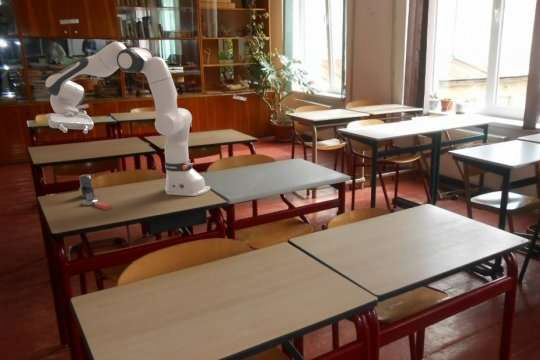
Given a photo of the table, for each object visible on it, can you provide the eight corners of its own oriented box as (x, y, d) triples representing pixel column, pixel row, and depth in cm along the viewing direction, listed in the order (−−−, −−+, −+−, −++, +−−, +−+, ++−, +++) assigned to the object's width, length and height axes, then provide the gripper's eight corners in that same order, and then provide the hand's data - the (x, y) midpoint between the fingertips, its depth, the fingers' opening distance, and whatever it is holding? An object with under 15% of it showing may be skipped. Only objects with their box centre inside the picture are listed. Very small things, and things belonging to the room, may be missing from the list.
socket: (81, 195, 226) (78, 175, 223) (93, 193, 228) (90, 173, 225) (82, 198, 221) (79, 177, 219) (94, 196, 224) (91, 176, 221)
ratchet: (79, 204, 214) (77, 194, 212) (92, 200, 219) (91, 190, 218) (102, 211, 203) (100, 201, 202) (115, 206, 209) (114, 197, 208)
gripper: (45, 107, 221) (54, 125, 213) (89, 111, 235) (98, 127, 227) (43, 119, 224) (51, 136, 216) (86, 121, 238) (95, 138, 230)
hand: (76, 131), depth 222 cm, fingers open, 8 cm apart
